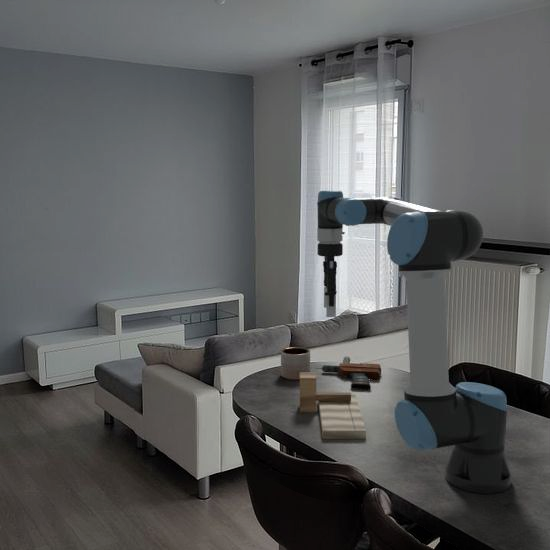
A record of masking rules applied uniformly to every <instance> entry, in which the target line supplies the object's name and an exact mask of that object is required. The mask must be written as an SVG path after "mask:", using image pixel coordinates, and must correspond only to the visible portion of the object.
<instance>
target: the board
mask: <svg viewBox="0 0 550 550" xmlns="http://www.w3.org/2000/svg"><path fill="white" fill-rule="evenodd" d="M357 399H358V398H357V397H356V394H351V401H317V405H318V412H319V419H320V427H321V434H322V439H323V440H366V439H367V429H366V426H365V423H364V420H363V416H362V413H361V409H360V406H359V403H358V400H357Z"/></svg>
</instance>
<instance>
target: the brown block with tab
mask: <svg viewBox="0 0 550 550" xmlns="http://www.w3.org/2000/svg"><path fill="white" fill-rule="evenodd" d="M351 395H352V393H351V392H337V391H336V392H332V391H331V392H325V391H324V392H317V374H316V372H315V371H312V372H311V371H310V372H300V380H299V413H317V402H318V401H351Z"/></svg>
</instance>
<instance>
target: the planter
mask: <svg viewBox="0 0 550 550" xmlns="http://www.w3.org/2000/svg"><path fill="white" fill-rule="evenodd" d="M280 350H281V351H280V376H281V377H282V378H284V379H286V380H293V381H300V372H311V350H310V349H308V348H306V347H300V346H299V347H297V346H293V347H292V346H291V347H285V348H283V349H280Z"/></svg>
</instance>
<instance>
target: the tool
mask: <svg viewBox="0 0 550 550" xmlns="http://www.w3.org/2000/svg"><path fill="white" fill-rule="evenodd" d="M316 369H321V370H322V372H324V373H336V374H337V375H338V377H340V378H341V379H343V380H346V379H347V380H352V383H351V384H350V389H351V390H361V389H365V391H371V390H372V388H371V387H372V386H371V384H370V383H371V382H370V381H379V380H380V379H381V375H382V367H381V364H379V363H366V362H364V363H361V362H360V363H351V358H350V357H349V356H344V357H343V359H342V362H339V365H329V364H326V365H325V364H324V365H323V366H321V367H320V368H319V367H316ZM369 379H372V380H369Z"/></svg>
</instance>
